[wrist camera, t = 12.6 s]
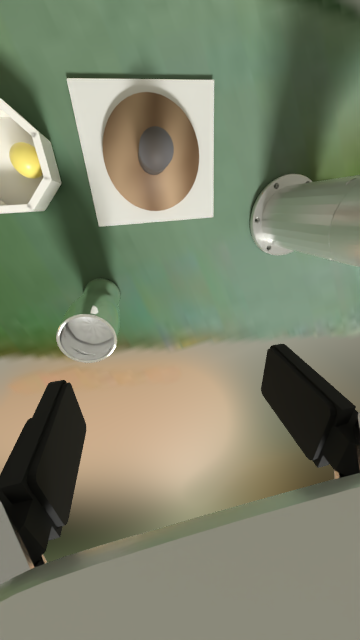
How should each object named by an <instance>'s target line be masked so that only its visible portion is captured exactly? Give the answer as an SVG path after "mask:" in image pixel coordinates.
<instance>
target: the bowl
mask: <svg viewBox="0 0 360 640" xmlns="http://www.w3.org/2000/svg"><path fill="white" fill-rule="evenodd" d="M17 142H25V143H28V144H30V145H32V146H34V147H35V149H36V152H37V156H38V159H39V163H40V166H41V169H42V173H43V175H42V176H40V177H39V178H35V179H32V178H27V177H25V176H23V175H21V174H20V173H19V172H18V171H17V170H16V169H15V168H14V167H13V165H12V163H11V161H10V157H9V151H10V148H11V146H12V145H13V144H15V143H17ZM60 185H61V179H60V175H59V171H58V168H57V164H56V160H55V156H54V153H53V149H52V145H51V142H50V141H49V140H48V139H47V138H46V137H45V136H44V135H42V134H41V133H40V132H39V131H38V130H37V129H36V128H35V127H33V126H32V125H31V124H30V123H29V122H28V121H27V120H26V119H24V118H23V117H22V116H21V115H20V114H19V113H18V112H17V111H15V110H14V109H13V108H12V107H11V106H10V105H8V104H7V103H6V102H5V101H4V100H2V99H1V98H0V213H19V212H35V211H45V210H46V208H47V207H48V205H49V203H50V202H51V200H52V198H53V197H54V195H55V193H56V192H57V190H58V189H59V187H60Z"/></svg>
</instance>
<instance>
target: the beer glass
mask: <svg viewBox="0 0 360 640" xmlns="http://www.w3.org/2000/svg"><path fill="white" fill-rule="evenodd" d="M119 302H120V291H119V289H118V287H117V286H116V285H115V284H114V283H113V282H111V281H110V280H107V279H95V280H92V281H90V282H89V283H88V284H87V285H86V287H85V289H84V294H83V295H82V296H80V297H79V298H78V299H77V300H75V301H74V302H73V303H72V304H71V306H70V307H69V308H68V310H67V311H66V313H65V315H64V317H63V319H62V322H61V324H60V326H59V328H58V330H57V334H56V340H57V344H58V346H59V348H60V350H61V351H62V352H63V353H64V354H65V355H66V356H68V357H69V358H71V359H73V360H76V361H79V362H84V363H93V362H98V361H101V360H103V359H105V358H107V357H108V356H109V355H111V354H112V352H113V351H114V349H115V347H116V344H117V339H118V336H119V331H120V320H121V319H120V312H119V309H118V304H119Z"/></svg>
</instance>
